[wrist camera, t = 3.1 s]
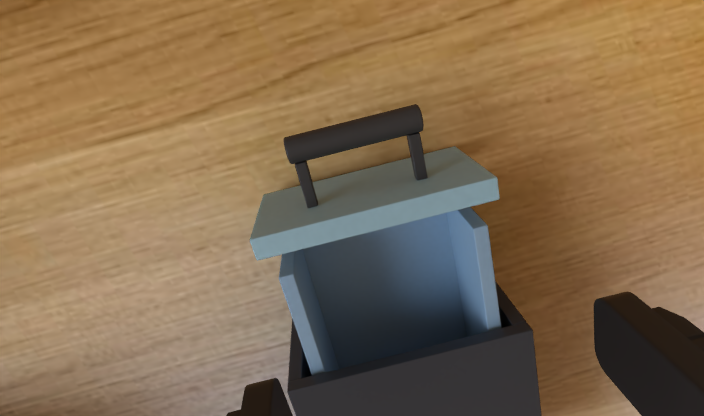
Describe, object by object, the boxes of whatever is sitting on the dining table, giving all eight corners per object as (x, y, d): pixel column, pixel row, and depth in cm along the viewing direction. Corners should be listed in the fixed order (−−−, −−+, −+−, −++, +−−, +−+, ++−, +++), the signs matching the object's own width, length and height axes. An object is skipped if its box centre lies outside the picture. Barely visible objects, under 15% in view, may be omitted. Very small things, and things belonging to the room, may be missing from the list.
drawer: (243, 134, 26) (222, 164, 20) (445, 83, 26) (488, 97, 20) (325, 382, 34) (328, 462, 27) (485, 342, 33) (525, 413, 27)
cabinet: (292, 303, 32) (287, 392, 24) (477, 256, 32) (533, 329, 24) (346, 464, 38) (356, 578, 30) (501, 425, 38) (553, 528, 30)
